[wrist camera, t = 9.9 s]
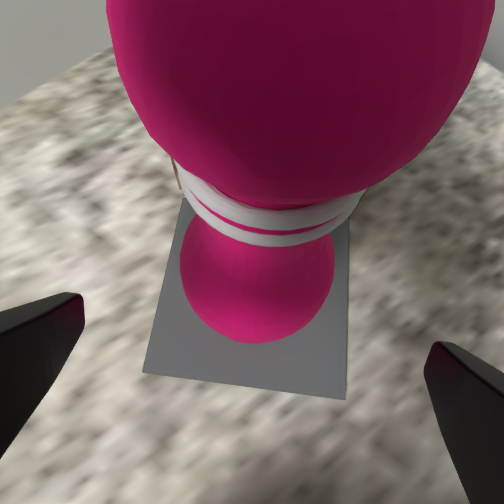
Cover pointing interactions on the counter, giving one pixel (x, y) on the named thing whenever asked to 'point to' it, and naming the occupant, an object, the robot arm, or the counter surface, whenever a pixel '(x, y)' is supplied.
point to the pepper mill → (286, 130)
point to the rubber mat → (252, 355)
